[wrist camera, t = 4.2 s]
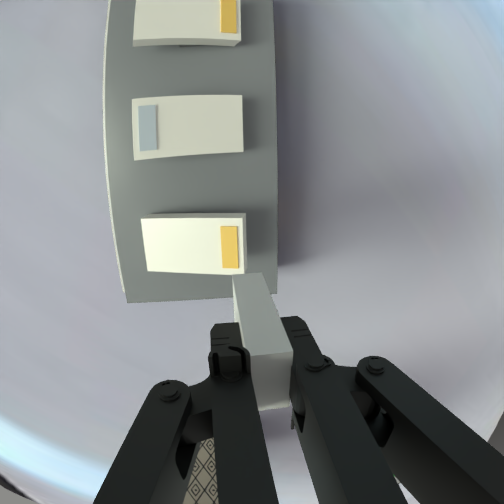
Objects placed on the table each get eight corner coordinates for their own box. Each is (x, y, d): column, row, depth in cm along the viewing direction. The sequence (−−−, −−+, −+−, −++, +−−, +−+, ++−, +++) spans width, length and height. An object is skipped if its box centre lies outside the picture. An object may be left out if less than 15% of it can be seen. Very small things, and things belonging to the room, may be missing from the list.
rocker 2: (134, 160, 21) (134, 160, 19) (131, 102, 19) (132, 98, 18) (236, 151, 24) (244, 152, 22) (234, 98, 22) (242, 94, 21)
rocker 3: (155, 263, 26) (147, 271, 24) (149, 213, 24) (139, 219, 23) (247, 267, 25) (243, 276, 23) (245, 213, 23) (241, 218, 22)
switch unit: (136, 277, 33) (122, 307, 26) (124, 8, 22) (107, -19, 16) (268, 268, 34) (282, 297, 28) (263, -1, 24) (276, -31, 18)
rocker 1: (132, 46, 18) (133, 39, 16) (135, 0, 16) (137, -9, 15) (233, 46, 21) (241, 39, 19) (233, 2, 19) (240, -6, 18)
